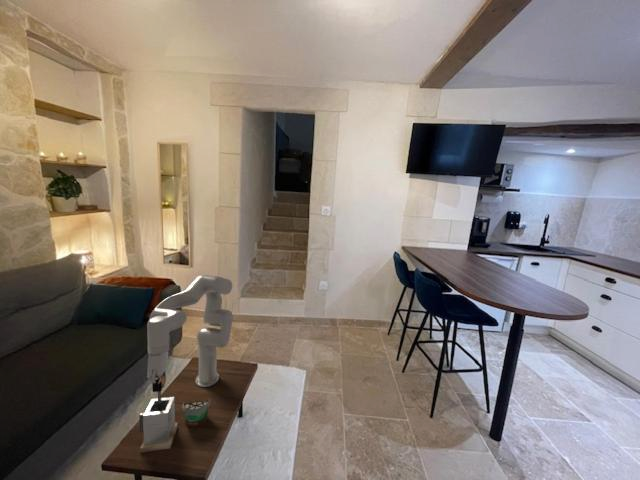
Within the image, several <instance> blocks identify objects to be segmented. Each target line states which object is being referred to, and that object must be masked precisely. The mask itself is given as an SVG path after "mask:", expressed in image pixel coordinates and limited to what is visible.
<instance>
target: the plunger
mask: <svg viewBox="0 0 640 480" xmlns="http://www.w3.org/2000/svg"><path fill="white" fill-rule="evenodd" d="M158 379H159V378H156V380H158ZM161 382H162V389H163V388H165V387H166V382H165V375H163V374H162V376H161ZM157 398H158V411H161V398H162V390H161V391H159V392H157Z"/></svg>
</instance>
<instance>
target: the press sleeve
mask: <svg viewBox="0 0 640 480" xmlns="http://www.w3.org/2000/svg"><path fill="white" fill-rule="evenodd" d="M175 400H176V398H175V396H169V397H161V411H158V397H157V398H151V400H150V402H149V404H148V406H147V408H146V410H145V412H140V413H139V432H140V433H143V441H144V446H146V445H153V444H161V443H168V442H169V439H170V436H171V433H172V431H173V428H174V425H175V423H176V420H175V418H176V417H175V416H176V414H175V413H176V412H175V410H176V408H175V407H176V405H175V402H176V401H175Z"/></svg>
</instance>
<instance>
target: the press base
mask: <svg viewBox="0 0 640 480" xmlns="http://www.w3.org/2000/svg"><path fill="white" fill-rule="evenodd" d="M178 427H179V422H176V421H175V425H174V428H173V431H172V433H171V436H170V439H169V442H168V443H161V444H153V445H146V446H144V440H143V441H142V444H141V445H140V449H139V450H140V451H139V453H141V454H142V453H147V452H154V451H161V450H162V451H163V450H169V449H171V447H172V444H173V442H174V438H175V435H176V432H177V429H178Z"/></svg>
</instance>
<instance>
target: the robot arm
mask: <svg viewBox="0 0 640 480" xmlns="http://www.w3.org/2000/svg"><path fill="white" fill-rule="evenodd" d="M232 290H233V282H232V281H231V280H230V279H229V278H225V277H222V276H217V275H209V274H200V275H197V276H196V277H195V278H194V279H193V280H192V281H191V283H189V285H187V287H186V288H185V289H184V290H183V291H181V292H178V293H176V294H173V295H170V296H168V297H167V298H164V299H163V300H162V301H161V302H159V303H158V304H157V305H156V306H155V308H154V309H153V310H152V311H151V313H150V315H149V319H148V321H147V324H146V327H147V329H146V330H147V333H146V334H147V354H148V359H147V375H146V377H147V379H148V380H149V379H150V380H151V381H150V384H151V385H152V392H153V393H158V392H159V391H161V392H162V390H163V388H162V382H161V376H162V374H163V375H165V383H166V379H167V378H166V377H167V376H166V371H167V370H166V369H167V367H168V364H169V350H170V332H172V331H174V330H177V329H179V328H182V326H184V324H185V323H186V322H187V318H188V317H187V316H188V315H187V313H186V312H184V311H183V310H180V309H179V308H184V307H189V306H193V305H196V304H197V303H199V301H201V299H202V297H204V295H205V296H206V303H205V308H204V313H203V323H204V324H205V325H207V327H202V328H200V329H199V330H198V332H197V335H196V341H197V342H196V343H197V347H198V375H197V376H196V378H195V384H196V386H197V387H201V388H207V387H211V386H213V385H215V384H217V383H218V382H219V379H220V373H218V371H217V363H218V362H217V361H218V359H217V358H218V357H217V356H218V350H217V348H225V347H227V346H228V344H229V342H230V339H231V338H230V337H231V333H232V325H233V320H234V315H233V312H232V311H231V310H229V309H225V308H222V304H223V297H222V295H229V294H230V293H231V292H232ZM178 309H179V310H178ZM208 326H210V327H208ZM211 326H212V327H211ZM216 327H219V328H216ZM156 378H159V379H158V380H156Z"/></svg>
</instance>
